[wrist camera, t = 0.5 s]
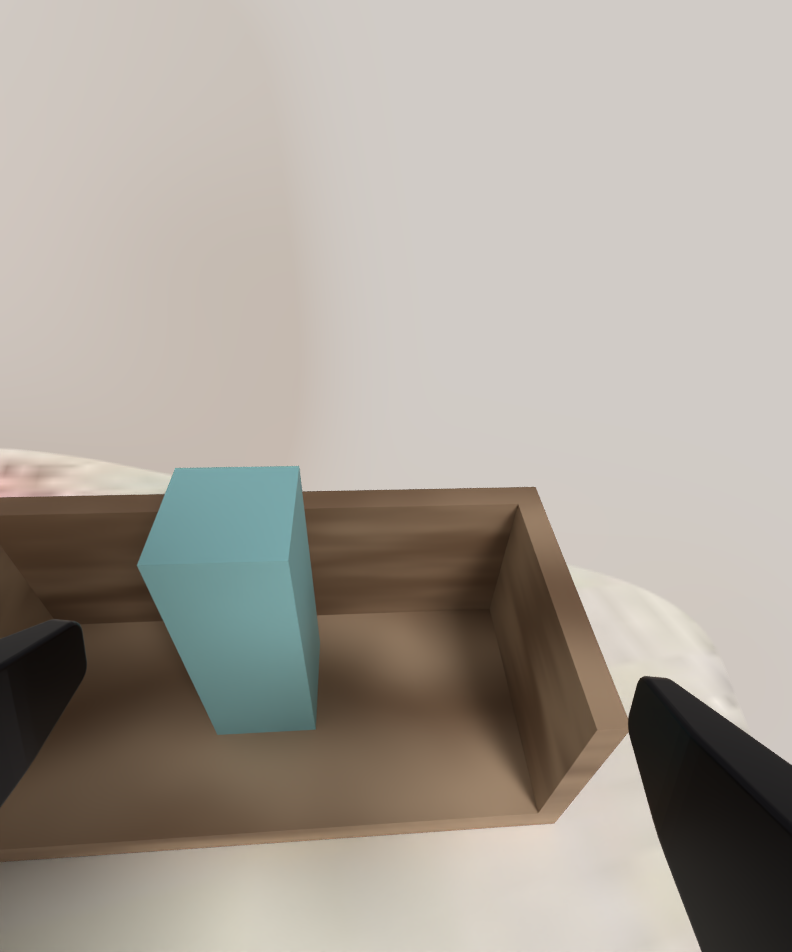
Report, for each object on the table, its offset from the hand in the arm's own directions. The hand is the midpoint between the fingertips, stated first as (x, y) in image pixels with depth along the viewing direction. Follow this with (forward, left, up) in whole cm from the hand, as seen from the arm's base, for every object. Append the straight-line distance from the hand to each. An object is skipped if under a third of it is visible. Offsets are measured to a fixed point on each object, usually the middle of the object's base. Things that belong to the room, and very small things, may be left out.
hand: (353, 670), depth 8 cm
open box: (+5, +6, -16) cm, 18 cm away
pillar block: (+5, +6, -14) cm, 16 cm away
